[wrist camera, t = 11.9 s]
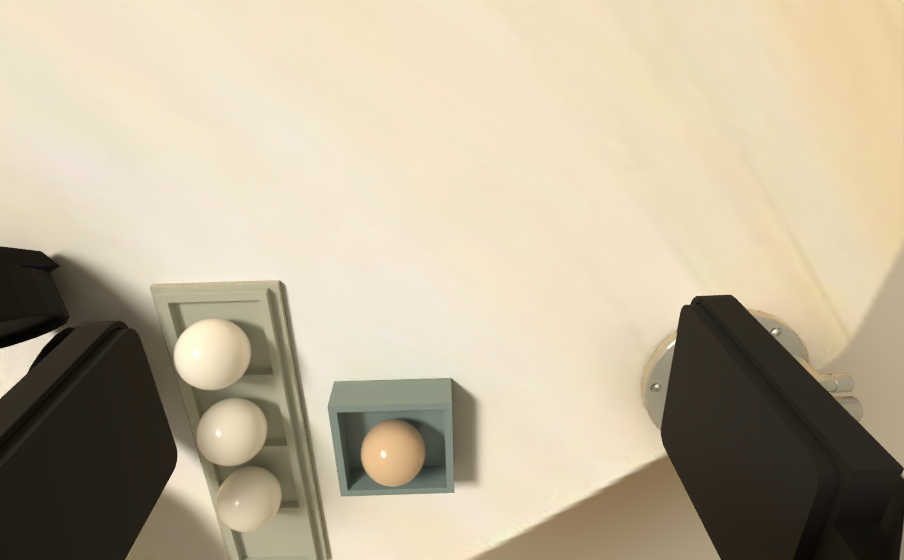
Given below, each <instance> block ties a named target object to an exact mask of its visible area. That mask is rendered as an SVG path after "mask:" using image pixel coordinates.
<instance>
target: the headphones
mask: <svg viewBox="0 0 904 560" xmlns="http://www.w3.org/2000/svg"><path fill="white" fill-rule="evenodd" d="M57 267H59V265H58V264H57V263H56V262H54V261H53V260H52V259H50V258H49V257H48V256H46V255H45V254H44V253H43V252H41V251H33V250H25V249H17V248H9V247H1V246H0V349H1V348H4V347H8V346H12V345H15V344H18V343H21V342H24V341H27V340H30V339H33V338H36V337H39V336H41V335H43V334H46V333H48V332H51V331H53V330H55V329H57V328H59V327H60V326H62V325H64V324H66V322H67V321H68V319H69V318H70V316H69V314H68V312H67V310H66V307H65V305H64V303H63V301H62V299H61V297H60V295H59V293H58V291H57V289H56V286H55V284H54V282H53V280H52V278H51V276H50V274H48V273H49V272H51V271H52V270H54V269H56V268H57ZM75 329H76V328H67V329H65V330H63V331H61V332H60V333H58V334H56V335H55V336H54V337H53V338H52V339H51V340H50V341H49V342H48V343H47V344H46V345H45V347H44V348H43V349H42V351H41V352H40V353H39V355H38V356H37V358H36V359H35V361H34V362H33V364H32V365H31V367H30V369H29V371H28V373H29V372H30V371H31V370H32V369H33V368H34V367H35V366H36V365H37V364H38V363H39V362H40V361H42V360H43V359H44V358H45V357H46V356H47V355H48V354H49V353H50V352H51V351H52V350H53V349H54V348H56V347H57V346H58V345H59V344H60V343H61V342H62V341H63V340H64V339H65V338H66V337H67V336H68V335H70V334H71V333H72V332H73V331H74V330H75ZM28 373H27V374H28Z"/></svg>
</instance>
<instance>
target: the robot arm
mask: <svg viewBox="0 0 904 560" xmlns="http://www.w3.org/2000/svg"><path fill="white" fill-rule="evenodd" d="M853 388H854V381H853V378H852V377H851V375H849V374H847V373H845V374H844V373H843V374H828V375H820V374H819V373H818V372H816V371H815V370H814V369H813V368H812V367H811V366H810V365H809V364H808V356H807V352H806V350H805V347H804V344H803V343H802V341H801V340H800V338H799V337H798V336H797V334H796V333H795V332H794V331H793V330H792V329H791V328H789V327H788V326H787V325H786V324H785V323H784V322H782V321H780V320H779V319H777V318H776V317H774V316H771V315H768V314H766V313H763V312H759V311H752V310H747V309H746V308H745V307H744V306H743V305H742V304H741V303H740V302H739V301H738V300H737V299H736V298H735V297H733V296H732V295H713V296H696V297H695V298H693V300H692V302H691V304H690V305H684V306H683V307H682V309H681V312H680V317H679V323H678V329H677V331H675V332H674V333H673V334H671V335H670V336H669V337H668V338H667V339H666V340H665V341H664V342H663V343H662V344H661V345H660V346H659V347H658V348H657V350H656V351H655V353H654V354H653V355H652V357H651V358H650V360H649V362H648V364H647V367H646V369H645V371H644V375H643V380H642V399H643V402H644V406H645V408H646V410H647V412H648V414H649V416H650V418H651V420H652V421H653V422H654V424H655V425H656V426H657V428H658V429H660V430H661V437H662V442H663V445H664V448H665V450H666V452H667V454H668V456H669V458H670V460H671V462H672V464H673V466H674V467H675V470H676V472H677V474H678V476H679V477H680V479H681V481H682V483H683V485H684V487H685V489H686V491H687V493H688V495H689V497H690V499H691V501H692V503H693V505H694V507H695V509H696V511H697V513H698V515H699V517H700V519H701V521H702V523H703V525H704V527H705V529H706V531H707V533H708V535H709V537H710V539H711V541H712V543H713V545H714V546H715V549H716V550H717V552H718V554H719V556H720V558H721V560H904V476H903V475H902V472H903V470H904V468H903V467H902V466H901V465H900V464H899V463H898V462H897V461H896V460H895V459H894V458H893V457H892V456H891V455H890V454H889V453H888V452H887V451H886V450H885V449H884V448H883V447H882V446H881V445H880V444H879V443H878V442H877V441H876V440H875V439H874V438H873V437H872V436H871V435H870V434H869V433H868V432H867V431H866V430H865V429H864V428H863V426H862V425H861V424H859V423H858V421H859V420H860V419H861V418H862V414H863V409H862V406H861V403H860V402H859V400H858V399H857V398H855V397H853V396H847V397H833V396H832V395H831V394H830V393H829V392H850V391H852V390H853ZM176 462H177V448H176V444H175V441H174V438H173V436H172V433H171V430H170V427H169V424H168V421H167V418H166V415H165V412H164V409H163V406H162V403H161V400H160V397H159V394H158V391H157V388H156V385H155V382H154V379H153V376H152V373H151V370H150V367H149V364H148V361H147V358H146V355H145V352H144V349H143V346H142V343H141V340H140V337H139V335H138V333H137V332H136V331H135V330H133V329H129V328H128V326H127V325H126V324H125V323H123V322H121V321H108V322H87V323H83V324H81V325H79V326H78V327H77V328H76V329H75V330H74V331H73V332H72V333H71V334H70V335H68V336H67V337H66V338H65V339H64V340H63V341H62V342H61V343H60V344H59V345H58V346H57V347H56V348H54V349H53V350H52V351H51V352H50V353H49V354H48V355H47V356H46V357H45V358H44V359H43V360H42V361H40V362H39V363H38V364H37V365H36V366H35V367H34V368H33V369H32V370H31V371H30V372H29V373H28V374H26V375H25V376H24V377H23V378H22V379H21V380H20V381H19V382H18V383H17V384H16V385H15V386H14V387H12V388H11V389H10V390H9V391H8V392H7V393H6V394H5V395H4V396H3V397H2V398H1V399H0V560H125V558H126V557H127V555H128V553H129V551H130V549H131V547H132V546H133V544H134V542H135V540H136V538H137V537H138V535H139V533H140V531H141V529H142V527H143V526H144V524H145V522H146V520H147V518H148V517H149V515H150V513H151V511H152V509H153V507H154V506H155V504H156V502H157V500H158V498H159V496H160V495H161V493H162V491H163V489H164V487H165V486H166V484H167V482H168V480H169V478H170V476H171V475H172V473H173V471H174V469H175V466H176Z"/></svg>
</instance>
